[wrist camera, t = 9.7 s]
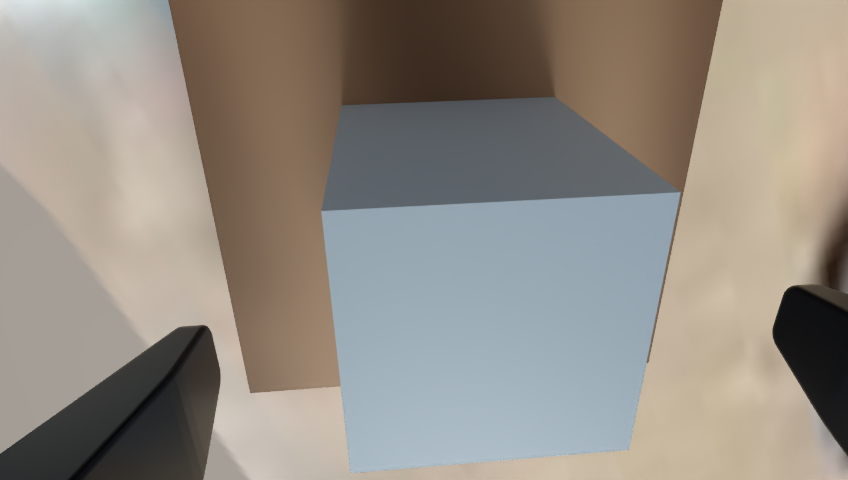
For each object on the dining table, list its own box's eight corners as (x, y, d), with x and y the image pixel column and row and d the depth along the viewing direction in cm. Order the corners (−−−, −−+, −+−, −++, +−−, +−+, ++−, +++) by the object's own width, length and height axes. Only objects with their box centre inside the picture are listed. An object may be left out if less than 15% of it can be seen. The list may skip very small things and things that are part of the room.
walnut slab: (654, -80, 15) (741, -90, 12) (600, 292, 21) (648, 362, 17) (204, -72, 14) (151, -80, 11) (270, 314, 20) (250, 392, 16)
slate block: (555, 97, 13) (680, 192, 8) (539, 279, 15) (628, 449, 10) (341, 105, 13) (321, 210, 8) (357, 290, 15) (350, 473, 10)
